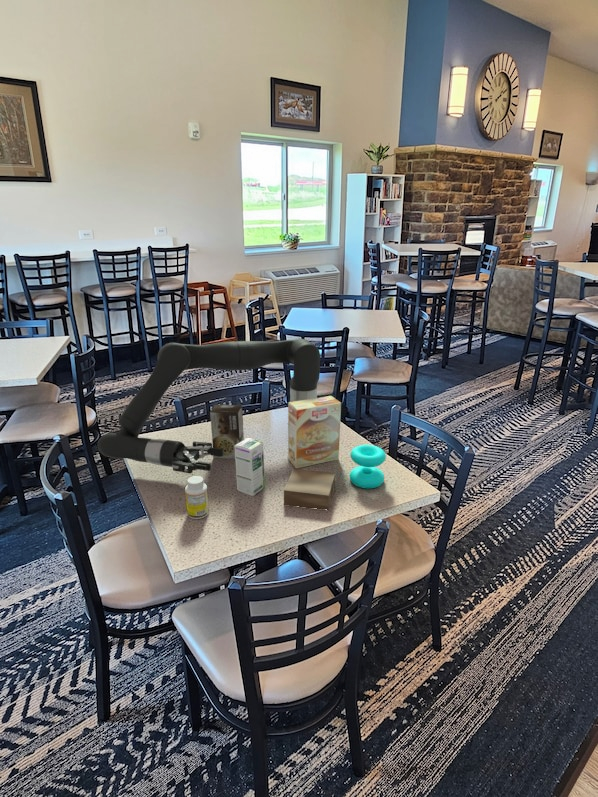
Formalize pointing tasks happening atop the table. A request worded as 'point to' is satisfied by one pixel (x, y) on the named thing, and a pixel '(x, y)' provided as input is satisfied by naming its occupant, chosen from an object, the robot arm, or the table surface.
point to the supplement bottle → (196, 498)
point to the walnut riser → (309, 489)
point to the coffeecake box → (313, 431)
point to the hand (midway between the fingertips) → (216, 459)
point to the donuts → (367, 466)
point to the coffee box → (226, 428)
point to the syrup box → (249, 466)
